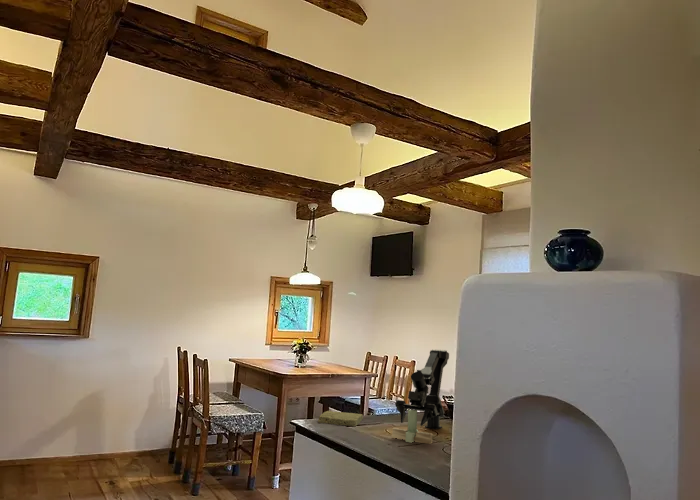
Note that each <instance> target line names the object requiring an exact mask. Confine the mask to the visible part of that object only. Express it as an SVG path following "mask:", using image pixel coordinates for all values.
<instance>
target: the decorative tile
mask: <svg viewBox="0 0 700 500" xmlns="http://www.w3.org/2000/svg"><path fill="white" fill-rule="evenodd" d="M363 419H364V416H363V413H362V414H361V413H353V412H343V411H342V412H341V411H332V410H327V411H324V412H322V413H321V414H320V415H319V417H318V420H317V423H321V424H331V425H337V426H349V427H356V426H358V425H359V424H360V423H361V421H363Z"/></svg>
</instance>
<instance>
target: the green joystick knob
mask: <svg viewBox="0 0 700 500" xmlns="http://www.w3.org/2000/svg"><path fill="white" fill-rule="evenodd" d="M407 430H408V432H406V440H405V443H412V442H413V443H414V437H415V436H416V432H418V431H419V429H418V410H413V409H407Z"/></svg>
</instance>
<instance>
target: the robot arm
mask: <svg viewBox="0 0 700 500" xmlns="http://www.w3.org/2000/svg"><path fill="white" fill-rule="evenodd" d="M449 359H450V353H449V352H448V350H446V349H430V351H429V356H428V358H427V360H426V363H425V364H424V365H425V366H424V367H423V368H421V369H416V371H415V372H413V373H412V374H411V375H410V380H411V382H412V385H413V387H414V388H415V389H414V390H409V391H408V397H407V399H409V400H408V401H409V403H406V401H405V400H400V399H396V401H395V408H396V410H397V412H398V413H400V423H401V424H403V423H404V421H405V418H406V415H407V412H408V410H417V412H418V411H420V412H424V413H423V415H422V419H421V421H420V426H421V427H422V426H423V425H424V424H426V425H424V427H425V428H428V429H433V430H437V429H441V428H443V426H442V425H440V424H441V423H440V421H441V417H443V416H444V407H443V403H442V400H441V397H440V393H441V387H442V386H441V385H442V378H443V371H444V368H445V367H446V365H448V361H449ZM429 386H430V389H429ZM429 390H430V391H429Z"/></svg>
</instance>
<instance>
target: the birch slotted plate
mask: <svg viewBox="0 0 700 500" xmlns="http://www.w3.org/2000/svg"><path fill="white" fill-rule="evenodd" d="M391 431H392V432H391V438H392V439H395V438H397V439H396V440H402V439H403V440H402V441H406V432H408V429H404V428H397V427H392V429H391ZM414 441H415V443H420V444H421V443H422V444H426V445H428V444H429V445H431V444H433V433H432V432H431V433H430V432H424V431H419V430H418V432H416V436H415V437H414Z"/></svg>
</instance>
